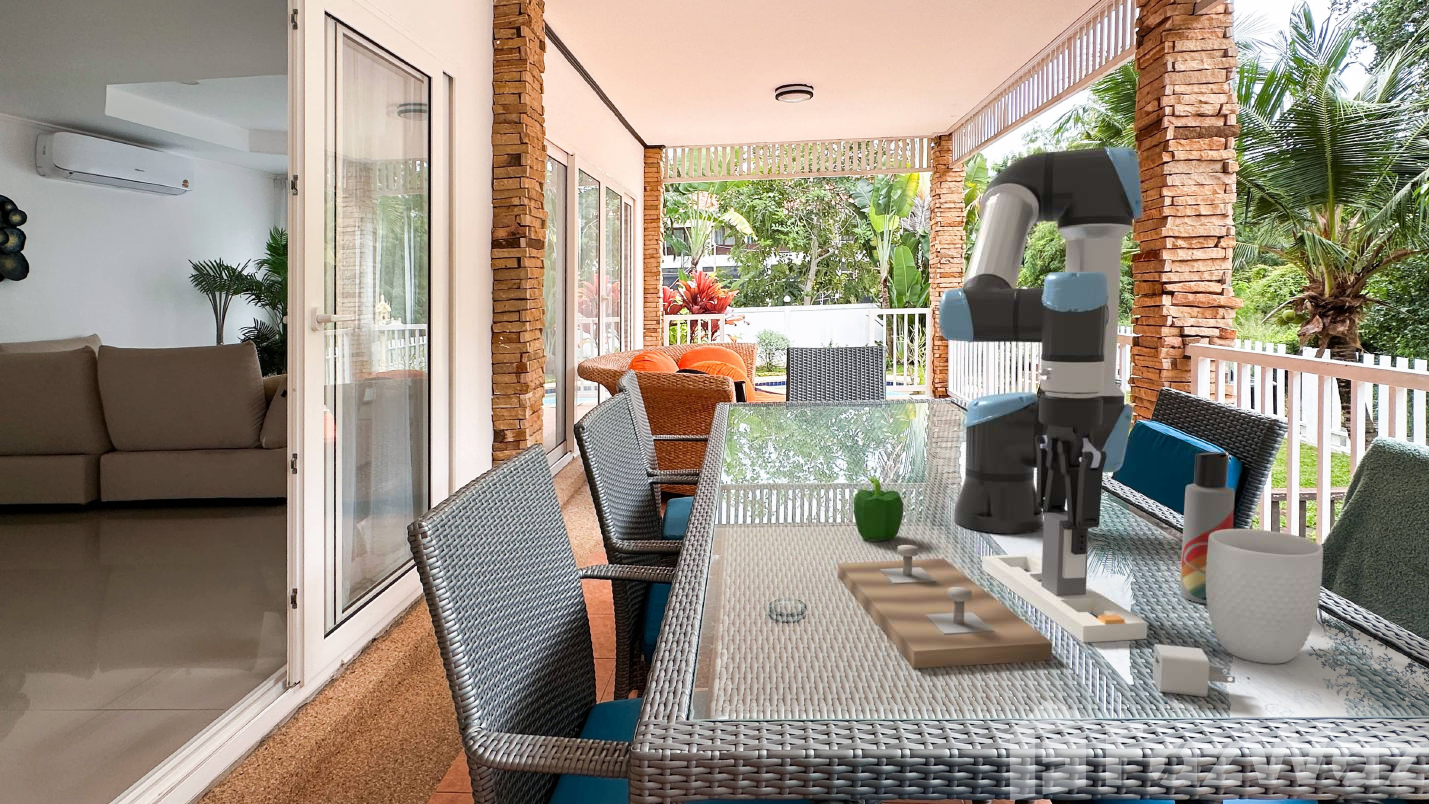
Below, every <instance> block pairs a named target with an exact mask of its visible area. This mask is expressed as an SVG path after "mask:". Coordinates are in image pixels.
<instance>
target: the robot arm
mask: <svg viewBox="0 0 1429 804" xmlns="http://www.w3.org/2000/svg"><path fill="white" fill-rule="evenodd" d="M1140 172H1141V171H1140V164H1139V158H1138V154H1137V153H1136V151H1135V150H1134V149H1133V148H1130V147H1127V146H1126V147H1125V146H1123V147H1121V146H1120V147H1109V146H1103V147H1094V148H1082V149H1071V150H1061V151H1044V152H1043V151H1042V152H1037V153H1033V154H1030V155H1026V156H1024V157H1022V158H1020V159H1018V160H1016V161H1014V162H1013V163H1011V164H1010V165H1008V166H1007V167H1005V168H1004V169H1003V170H1001V172H1000V173H999V174H997V175H996V176H995V177H994V178H993V179H992V181H990V182H989V184H988V186H987V187H986V189H985V190H984V192H983V195H982V196H981V199H980V202H979V206H978V208H979V209H978V214H979V218H980V220H981V222H980V226H979V229H978V231H977V236H976V238H975V243H974V246H973V249H972V253H971V256H970V260H969V263H968V266H967V270H966V272H965V276H964V280H963V283H962V287H957V288H956V289H955V288H953V289H948V290H945V291H944V292H943V293H942V294H941V298H940V301H939V313H938V318H939V319H938V321H939V322H938V323H939V325H938V326H939V331H940V334H941V336H942V338H944V339H945V340H947V341H955V342H967V343H968V344H969V343H970V344H971V343H1009V342H1010V343H1038V344H1039V343H1041V357H1040V359H1041V361H1040V368H1039V370H1038V374H1039V376H1040V382H1039V383H1040V385H1039V387H1040V390H1042V391H1043V392H1044V393H1043V394H1041V395H1040V396H1039V397H1038V396H1037V393H1035V392H1030V391H1026V392H1023V391H1020V392H1019V391H1018V392H1006V393H997V394H989V395H985V396H984V395H983V396H980V397H976V398H974V399H973V400H972V399H971V401H970V402H969V404H968V406H967V411H966V412H967V413H966V423H965V425H964V426H965V427H966V429H965V430H966V432H965V433H966V435H965V470H964V471H965V478H964V482H963V485H962V487H961V490H960V492H959V495H958V498H957V500H956V504H955V507H954V510H953V511H954V512H953V513H954V515H953V521H954V522H955V523H956V524H957V525H958V526H961V527H962V528H967V529H971V530H975V531H978V532H979V531H980V532H986V533H992V534H993V533H994V534H1024V533H1025V534H1026V533H1032V532H1036V531H1038V530H1041V529H1042V528H1043V526H1044V513H1054V512H1067V515H1068V524H1067V525H1063V528H1064V540H1063V566H1062V577H1063V578H1084V577H1085V564H1086V550H1087V547H1086V546H1087V531H1088V529H1089V530H1090V529H1094V528H1099V527H1100V521H1101V519H1100V517H1101V507H1102V504H1101V503H1102V493H1103V492H1102V489H1103V488H1102V487H1103V477H1104V476H1103V474H1104V473H1115V472H1118V471H1119V470H1120V469H1121V468H1122V466H1123V463H1124V460H1125V455H1126V452H1127V451H1126V450H1127V446H1128V441H1129V435H1130V430H1131V426H1132V425H1131V424H1132V419H1133V414H1134V406H1133V405H1131V404H1129V403H1125V392H1123V391H1122V389H1120V388H1119V386H1117V383H1116V376H1117V375H1116V373H1117V372H1116V371H1117V353H1118V352H1117V349H1118V332H1119V331H1118V330H1119V328H1118V327H1119V309H1120V308H1119V307H1120V305H1119V304H1120V288H1121V287H1120V286H1121V285H1120V284H1121V266H1122V265H1121V264H1122V263H1121V262H1122V246H1123V245H1122V244H1123V239H1124V238H1125V237H1126V236H1127V235H1128V234H1129V233H1130V232H1132V230H1133V227H1134V225H1133V223H1134V220H1138V219H1140V218H1142V217H1143V213H1144V211H1143V210H1144V209H1143V208H1144V207H1143V199H1142V184H1141V183H1142V182H1141V175H1140ZM1041 222H1043V223H1044V222H1045V223H1049V222H1056V223H1057V229H1056V230H1057V233H1058V235H1060V236H1061V237H1062V238H1063V240H1065V242H1066V243H1065V262H1064V263H1065V264H1064V265H1065V266H1064V271H1061V272H1060V271H1059V272H1058V271H1056V272H1051V273H1048V274H1047V275H1046V276H1045V277H1044V284H1043V287H1041V288H1040V287H1039V288H1035V287H1034V288H1022V287H1021V288H1019V287H1018V281H1019V277H1020V271H1021V267H1022V262H1023V258H1024V255H1025V249H1026V248H1025V247H1026V243H1027V240H1028V233H1029V230H1030V229H1031V228H1032V227H1033V226H1034V225H1035V224H1036V223H1041ZM1017 287H1018V288H1017ZM1038 399H1039V400H1038ZM1035 469H1036V486H1035V480H1034V479H1035ZM1088 532H1089V531H1088Z"/></svg>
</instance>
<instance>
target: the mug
mask: <svg viewBox="0 0 1429 804" xmlns="http://www.w3.org/2000/svg"><path fill="white" fill-rule="evenodd" d="M1323 558H1324V548H1323V547H1322V545H1321V544H1319V543H1318V542H1316V541H1314V540H1312V539H1309V538H1307V537H1306V538H1305V537H1303V536H1299V535H1296V534H1290V533H1285V532H1280V531H1273V530H1264V529H1256V528H1255V529H1253V528H1252V529H1251V528H1233V529H1225V530H1218V531H1215V532H1212V533H1211V534H1210V535H1209V538H1208V551H1207V560H1206V561H1207V565H1206V598H1207V604H1206V605H1207V607H1206V608H1207V611H1208V616H1209V620H1210V622H1211V623H1210V624H1211V627H1212V629H1213V632H1214V634H1215V636H1216V638H1217V639H1218V641H1219V643H1220V644H1221V646H1222V647H1223V649H1224V650H1225V651H1226V652H1227V653H1229V654H1230V655H1232V656H1235V657H1237V658H1240V659H1243V660H1245V661H1249V662H1254V663H1259V664H1267V665H1268V664H1271V665H1274V664H1275V665H1278V664H1284V663H1288V662H1290V661H1291V660H1293V659H1294V658H1295V657H1297V655H1298V654H1299V652H1300V651H1301V650H1302V649H1303V647H1304V646H1305V644H1306V642H1307V641H1308V639H1309V636H1310V634H1311V632H1312V629H1313V626H1314V624H1315V620H1316V618H1317V614H1318V608H1319V602H1320V595H1321V590H1322V581H1323V580H1322V577H1323V570H1324V568H1323V560H1324V559H1323Z"/></svg>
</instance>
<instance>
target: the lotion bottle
mask: <svg viewBox="0 0 1429 804" xmlns="http://www.w3.org/2000/svg"><path fill="white" fill-rule="evenodd" d="M1194 458H1195V459H1194V474H1193V476H1194V477H1193V483H1190V484H1187V485H1186V486H1185V491H1184V492H1185V493H1184V507H1183V509H1184V510H1183V524H1182V525H1183V527H1182V528H1183V529H1182V543H1181V544H1182V545H1181V560H1180V576H1179V577H1180V578H1179V579H1180V581H1179V593H1180V594H1181V595H1180V596H1181V597H1182V598H1183V597H1184V598H1183V599H1185V600H1187V599H1188V600H1187V601H1189V600H1191V601H1190V602H1193V601H1195V602H1194V603H1196V602H1198V603H1197V604H1201V603H1205V604H1204V605H1207V598H1206V565H1207V561H1206V560H1207V551H1208V538H1209V535H1210V534H1211V533H1212V532H1215V531H1218V530H1225V529H1234V528H1233V527H1234V512H1235V495H1236V494H1235V493H1236V492H1235V491H1236V490H1235V489H1234V488H1232V487H1229V486H1228V474H1229V460H1230V458H1229V455H1228V454H1227V453H1226V452H1225V451H1220V452H1219V451H1209V452H1201V453H1196V454H1195V457H1194Z"/></svg>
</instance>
